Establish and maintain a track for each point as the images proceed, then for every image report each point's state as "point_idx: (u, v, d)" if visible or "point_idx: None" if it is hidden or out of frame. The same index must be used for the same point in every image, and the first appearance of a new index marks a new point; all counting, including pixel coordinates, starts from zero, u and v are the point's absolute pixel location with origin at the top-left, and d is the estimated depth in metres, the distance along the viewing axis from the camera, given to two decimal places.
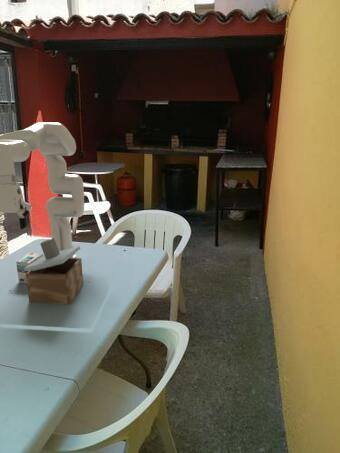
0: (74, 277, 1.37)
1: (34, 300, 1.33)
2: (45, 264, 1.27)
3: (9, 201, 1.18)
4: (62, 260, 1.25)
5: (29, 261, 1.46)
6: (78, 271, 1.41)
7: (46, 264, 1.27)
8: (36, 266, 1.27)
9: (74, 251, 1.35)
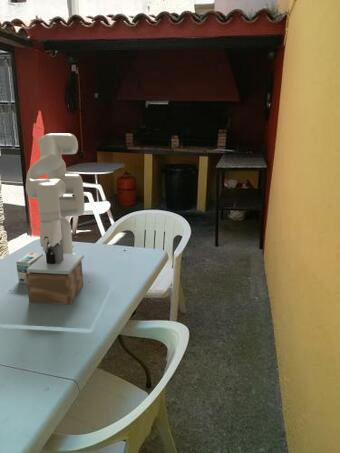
0: (74, 277, 1.37)
1: (34, 300, 1.33)
2: (49, 271, 1.28)
3: (59, 231, 1.34)
4: (67, 272, 1.27)
5: (29, 261, 1.46)
6: (78, 271, 1.41)
7: (50, 271, 1.28)
8: (39, 270, 1.28)
9: (78, 261, 1.36)
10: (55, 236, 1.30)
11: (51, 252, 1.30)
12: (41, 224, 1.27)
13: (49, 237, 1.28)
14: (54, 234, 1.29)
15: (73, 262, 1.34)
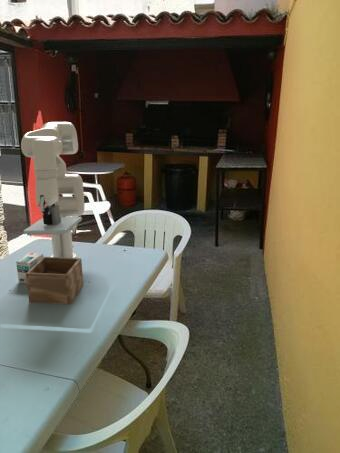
0: (74, 277, 1.37)
1: (34, 300, 1.33)
2: (46, 231, 1.24)
3: (56, 191, 1.30)
4: (65, 231, 1.23)
5: (29, 261, 1.46)
6: (78, 271, 1.41)
7: (47, 232, 1.24)
8: (37, 231, 1.24)
9: (76, 222, 1.33)
10: (51, 195, 1.26)
11: (48, 212, 1.26)
12: (37, 182, 1.22)
13: (45, 196, 1.23)
14: (50, 193, 1.25)
15: (71, 223, 1.30)
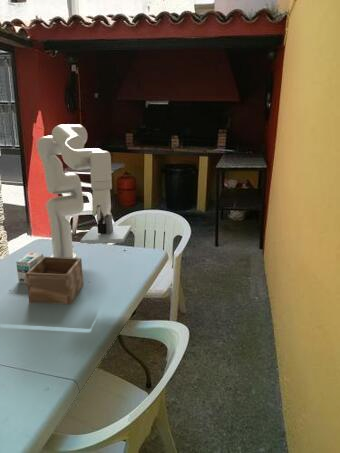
0: (74, 277, 1.37)
1: (34, 300, 1.33)
2: (103, 240, 1.27)
3: (110, 201, 1.33)
4: (121, 240, 1.27)
5: (29, 261, 1.46)
6: (78, 271, 1.41)
7: (104, 241, 1.27)
8: (93, 240, 1.28)
9: (128, 231, 1.36)
10: (107, 205, 1.29)
11: (103, 222, 1.30)
12: (94, 192, 1.26)
13: (102, 206, 1.27)
14: (106, 203, 1.28)
15: (124, 231, 1.34)
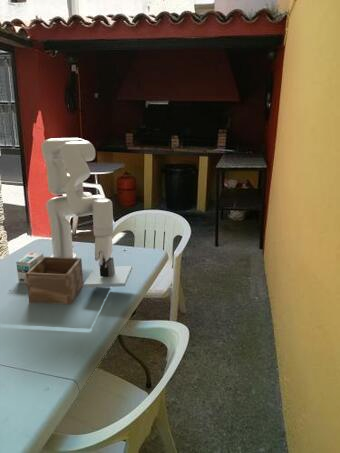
0: (74, 277, 1.37)
1: (34, 300, 1.33)
2: (105, 285, 1.33)
3: (111, 245, 1.39)
4: (123, 284, 1.33)
5: (29, 261, 1.46)
6: (78, 271, 1.41)
7: (106, 285, 1.33)
8: (96, 285, 1.33)
9: (129, 273, 1.42)
10: (109, 250, 1.35)
11: (105, 266, 1.36)
12: (96, 239, 1.31)
13: (104, 252, 1.32)
14: (108, 249, 1.34)
15: (125, 274, 1.40)
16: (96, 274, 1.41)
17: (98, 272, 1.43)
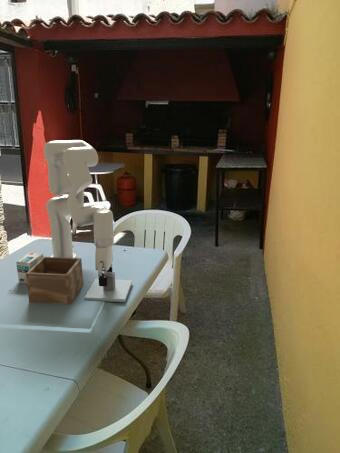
0: (74, 277, 1.37)
1: (34, 300, 1.33)
2: (106, 299, 1.35)
3: (112, 255, 1.40)
4: (123, 300, 1.35)
5: (29, 261, 1.46)
6: (78, 271, 1.41)
7: (107, 299, 1.35)
8: (97, 299, 1.35)
9: (129, 288, 1.44)
10: (109, 260, 1.36)
11: (104, 275, 1.35)
12: (97, 249, 1.33)
13: (104, 262, 1.34)
14: (108, 258, 1.35)
15: (125, 289, 1.42)
16: (97, 287, 1.43)
17: (98, 285, 1.45)
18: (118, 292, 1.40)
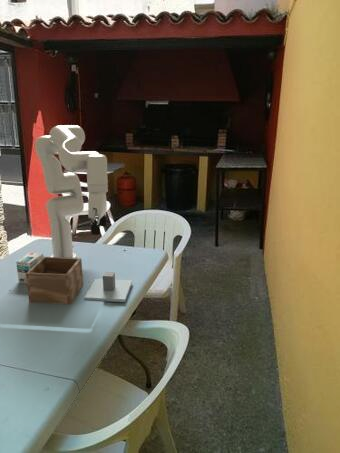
0: (74, 277, 1.37)
1: (34, 300, 1.33)
2: (106, 299, 1.35)
3: (105, 204, 1.36)
4: (123, 300, 1.35)
5: (29, 261, 1.46)
6: (78, 271, 1.41)
7: (107, 299, 1.35)
8: (97, 299, 1.35)
9: (129, 288, 1.44)
10: (102, 208, 1.32)
11: (97, 222, 1.30)
12: (90, 195, 1.29)
13: (97, 209, 1.30)
14: (102, 206, 1.31)
15: (125, 289, 1.42)
16: (97, 287, 1.43)
17: (98, 285, 1.45)
18: (118, 292, 1.40)
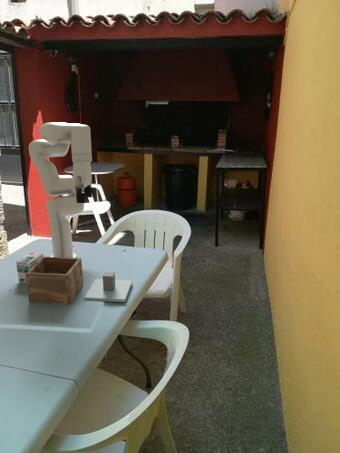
0: (74, 277, 1.37)
1: (34, 300, 1.33)
2: (106, 299, 1.35)
3: (90, 174, 1.41)
4: (123, 300, 1.35)
5: (29, 261, 1.46)
6: (78, 271, 1.41)
7: (107, 299, 1.35)
8: (97, 299, 1.35)
9: (129, 288, 1.44)
10: (87, 177, 1.37)
11: (82, 190, 1.35)
12: (74, 164, 1.33)
13: (82, 177, 1.34)
14: (86, 175, 1.36)
15: (125, 289, 1.42)
16: (97, 287, 1.43)
17: (99, 285, 1.45)
18: (118, 292, 1.40)
